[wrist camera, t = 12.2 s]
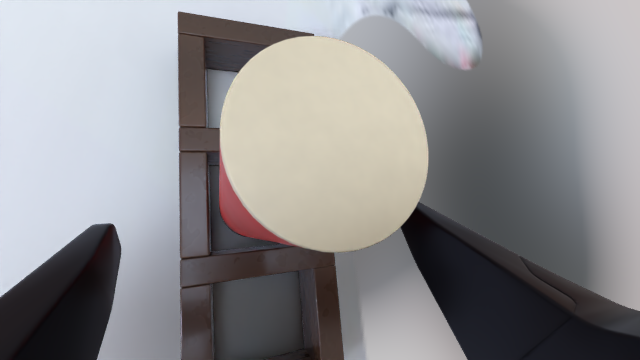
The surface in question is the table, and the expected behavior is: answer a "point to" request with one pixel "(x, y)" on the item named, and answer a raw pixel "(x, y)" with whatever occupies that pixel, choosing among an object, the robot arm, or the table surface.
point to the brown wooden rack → (194, 190)
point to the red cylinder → (319, 147)
